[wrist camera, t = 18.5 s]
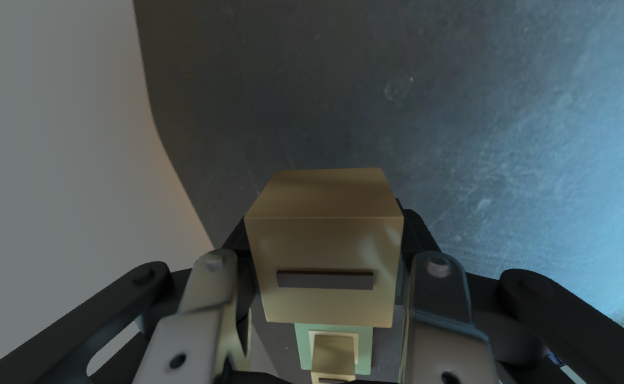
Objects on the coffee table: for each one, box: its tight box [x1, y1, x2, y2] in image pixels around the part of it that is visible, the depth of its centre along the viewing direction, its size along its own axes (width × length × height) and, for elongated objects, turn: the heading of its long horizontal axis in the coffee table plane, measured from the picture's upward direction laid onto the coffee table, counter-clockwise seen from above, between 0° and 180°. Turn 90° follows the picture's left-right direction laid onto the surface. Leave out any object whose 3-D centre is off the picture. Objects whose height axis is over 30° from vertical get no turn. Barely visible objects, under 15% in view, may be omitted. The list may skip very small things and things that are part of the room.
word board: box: [294, 323, 373, 375], centre depth 27 cm, size 9×18×1 cm, turn 4°
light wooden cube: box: [311, 335, 355, 384], centre depth 27 cm, size 4×4×4 cm
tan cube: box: [244, 167, 404, 328], centre depth 9 cm, size 4×4×4 cm
